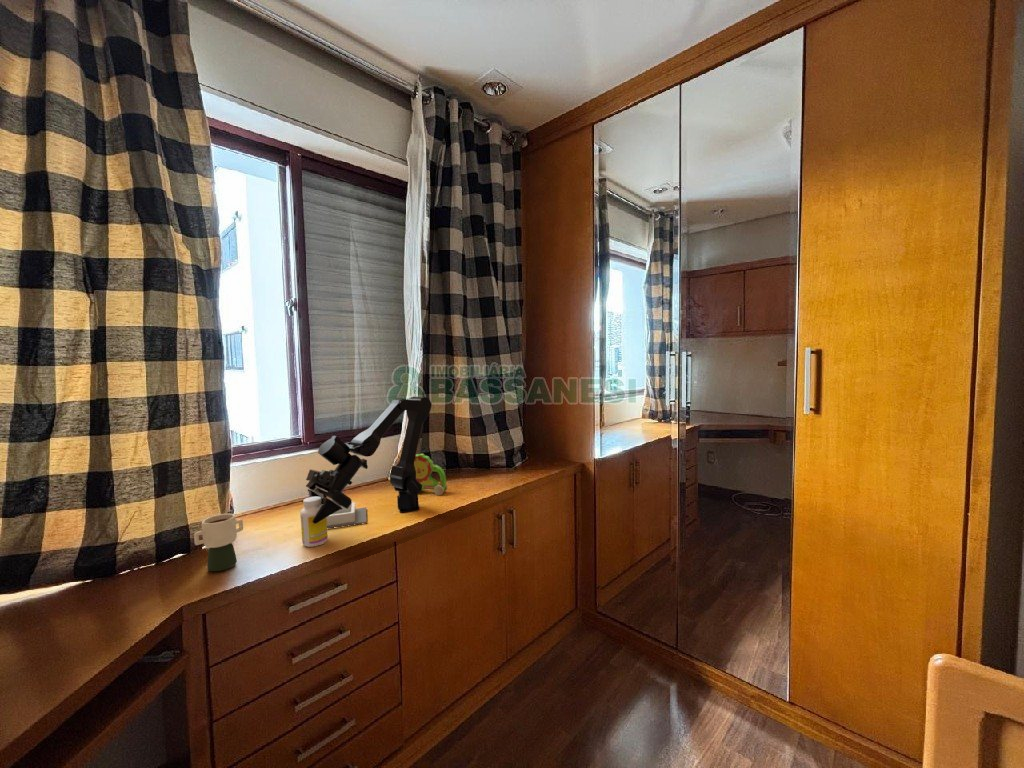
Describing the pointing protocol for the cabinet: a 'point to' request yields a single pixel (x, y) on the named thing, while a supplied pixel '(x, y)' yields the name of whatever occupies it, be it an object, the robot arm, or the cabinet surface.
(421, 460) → the toy lion
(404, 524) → the cabinet surface
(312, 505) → the supplement bottle
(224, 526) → the white green trophy cup
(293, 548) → the cabinet surface
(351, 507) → the holder
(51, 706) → the cabinet surface
